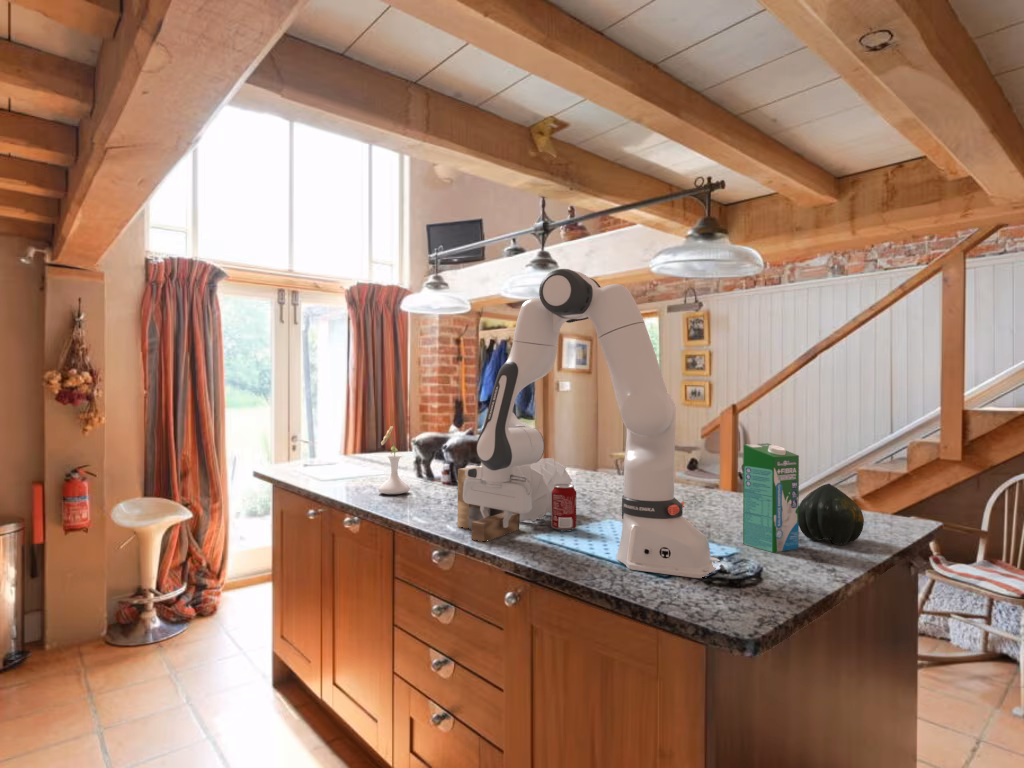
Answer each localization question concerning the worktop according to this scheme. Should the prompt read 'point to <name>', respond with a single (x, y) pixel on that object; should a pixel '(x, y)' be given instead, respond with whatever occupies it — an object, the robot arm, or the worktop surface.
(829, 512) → the squash
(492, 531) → the wooden block
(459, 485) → the post
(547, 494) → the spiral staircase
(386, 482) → the flower in vase
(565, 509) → the soda can
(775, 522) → the milk carton
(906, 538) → the worktop surface
